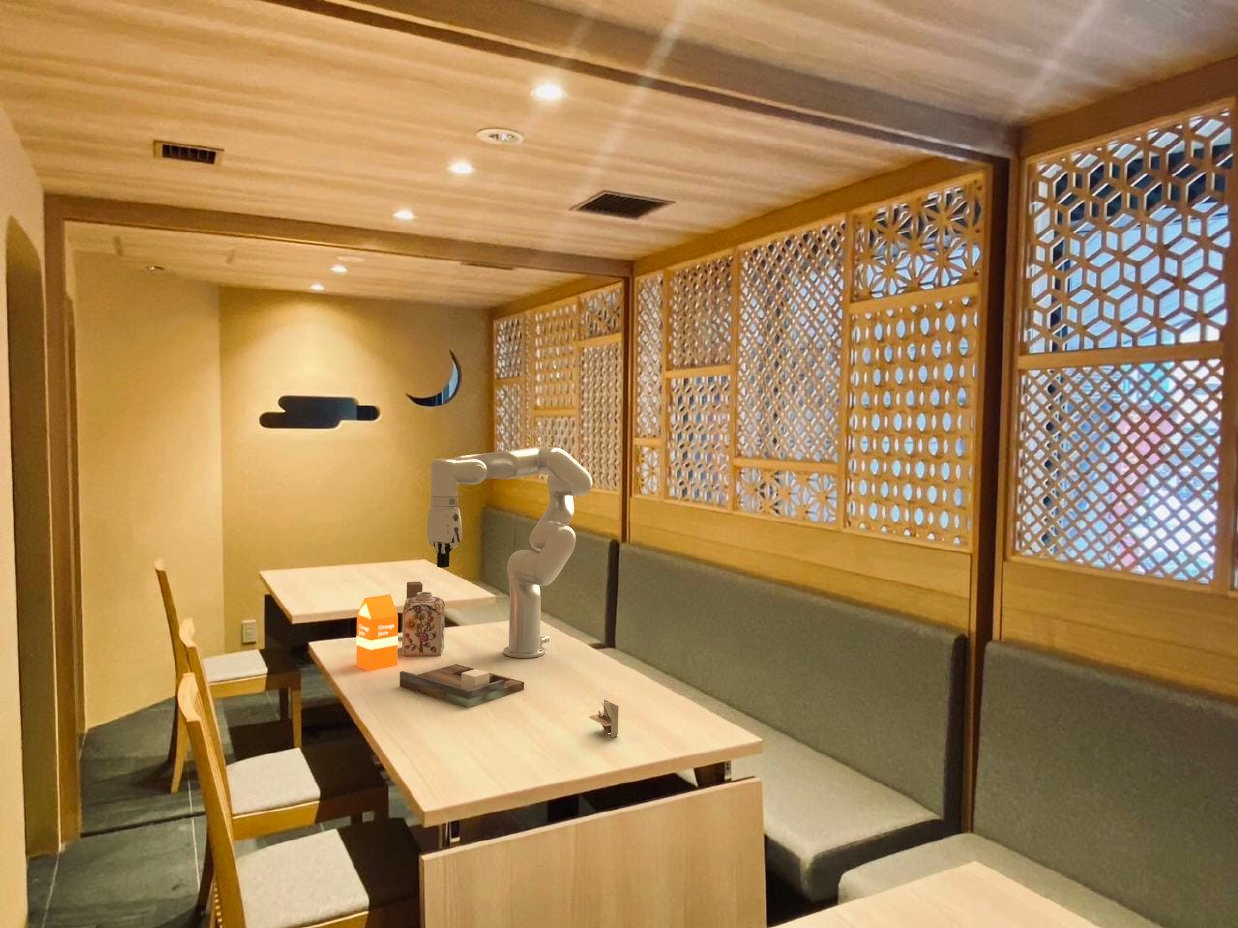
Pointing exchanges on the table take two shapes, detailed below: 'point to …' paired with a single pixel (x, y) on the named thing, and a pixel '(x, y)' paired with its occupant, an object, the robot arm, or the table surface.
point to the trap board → (458, 685)
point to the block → (474, 679)
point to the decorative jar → (423, 626)
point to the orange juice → (377, 633)
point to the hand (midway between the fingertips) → (443, 566)
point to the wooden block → (413, 589)
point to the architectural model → (608, 718)
